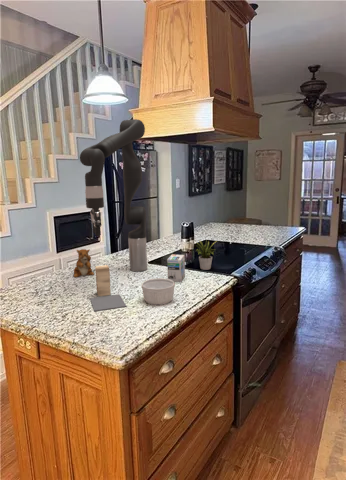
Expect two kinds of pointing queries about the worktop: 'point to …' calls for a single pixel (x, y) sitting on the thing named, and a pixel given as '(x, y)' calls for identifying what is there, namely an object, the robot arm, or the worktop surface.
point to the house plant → (205, 255)
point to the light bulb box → (176, 267)
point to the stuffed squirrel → (83, 264)
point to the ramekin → (158, 290)
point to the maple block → (103, 280)
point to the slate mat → (107, 302)
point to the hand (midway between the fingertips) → (96, 234)
